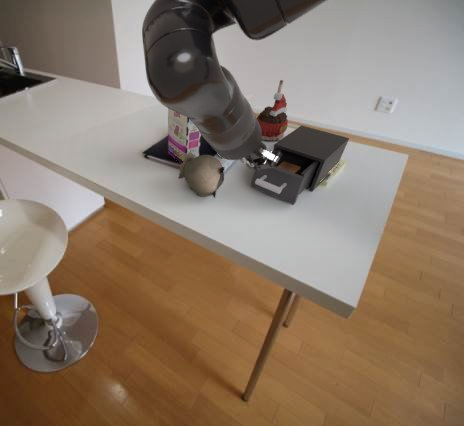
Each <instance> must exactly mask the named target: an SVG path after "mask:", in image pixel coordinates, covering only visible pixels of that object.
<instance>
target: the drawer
mask: <svg viewBox="0 0 464 426" xmlns="http://www.w3.org/2000/svg"><path fill="white" fill-rule="evenodd" d="M277 151H279V152H281V153H282V156H281V157H280V159H279V161H278V162H277V164H276V166H275V167H274V168H268V169H260V170H257V172H256V171H253V174H252V179H251V183H250V187H251V188H252V189H256V190H258V191H260V192H262V193H264V194H267V195H269V196H271V197H274V198H276V199H278V200H281V201H283V202H285V203H288V204H290V205H292V206H295V204H296V203H297V200H298V197H299V196H300V195H301V194H302V193H304V191H305V190H307V189H306V188H307V187H308V186H309V185H310V184H311V183H312V182H313V180H314V177H315V175H316V172H317V170H318V167H319V165H320V162H319V161H316V160H313V159H310V158H307V157H304V156H301V155H298V154H294V153H291V152H288V151H285V150H282V149H278V150H277ZM284 161H285V162H288V163H291V164H294V165H297V166H299V167H301V169H300V172H299V175H298V174H295V173H292V172H289V171H287V170H284V169H281V168H279V167H277V166H279V165H280V164H281V163H282V162H284Z"/></svg>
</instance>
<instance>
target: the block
mask: <svg viewBox="0 0 464 426" xmlns="http://www.w3.org/2000/svg"><path fill="white" fill-rule="evenodd" d="M277 167H279V168H281V169H284V170H287V171H289V172H292V173H295V174H298V175H299V172H300V169H301V167H299V166H297V165H294V164H291V163H288V162H285V161H284V162H282V163H281V164H280V165H279V166H277Z"/></svg>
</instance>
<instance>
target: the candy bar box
mask: <svg viewBox="0 0 464 426" xmlns="http://www.w3.org/2000/svg"><path fill="white" fill-rule="evenodd" d="M167 111H168V112H167V154H168V155H169V156H170V157H172V158H173V159H174V160H175V157H174V156H173V155H172V154H171V153H170V152H172V153H173V154H174V155H175V156H177V157H178V158H179V159H181V160H182V161H183V158H182V156H183V155H184V154H185V153H187V154H188V153H189V152H190V153H192V154H193V155H194V158H196V157H198V156H200V152H201V151H200V149H201V138H202V135H201V133H200V131H199V129H198V128H197V127H196V126H195V125H194V123H193V122H192V121H191V120H190V119H189V118H188V117H186V116H184V115H181V114H179V113H177V112H175V111H173V110H171V109H169V108H167ZM168 150H169V151H170V152H169V151H168ZM175 161H176V162H177V160H175ZM178 163H179V164H180V165H181V164H182V163H180V162H178Z"/></svg>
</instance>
